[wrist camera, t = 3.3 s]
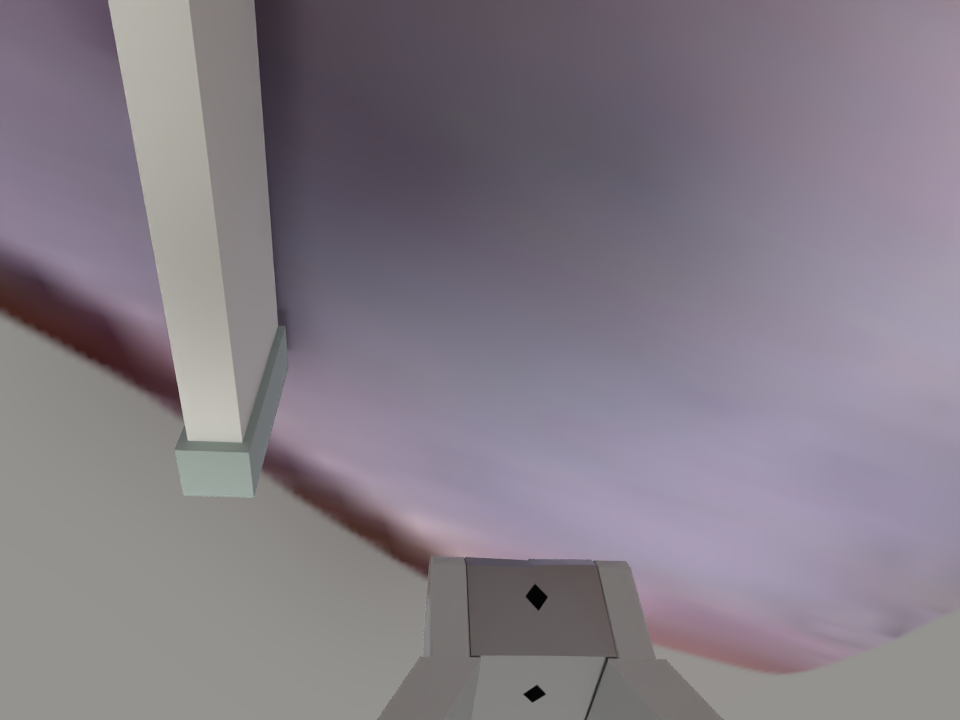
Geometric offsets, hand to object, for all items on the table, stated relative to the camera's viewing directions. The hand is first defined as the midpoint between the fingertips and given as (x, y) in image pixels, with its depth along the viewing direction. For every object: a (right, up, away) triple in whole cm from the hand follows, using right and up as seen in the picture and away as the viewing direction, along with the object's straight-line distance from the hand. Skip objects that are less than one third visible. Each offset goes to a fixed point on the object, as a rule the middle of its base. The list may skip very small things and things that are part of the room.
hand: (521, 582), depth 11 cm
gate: (-8, +11, +9) cm, 17 cm away
